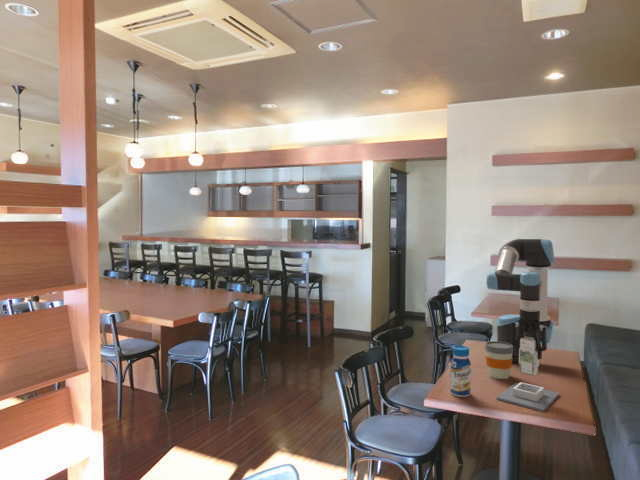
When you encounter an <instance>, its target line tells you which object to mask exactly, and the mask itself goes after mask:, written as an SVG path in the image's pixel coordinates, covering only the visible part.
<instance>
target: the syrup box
mask: <svg viewBox="0 0 640 480" xmlns="http://www.w3.org/2000/svg"><path fill="white" fill-rule="evenodd" d="M535 351H537V348H536V341H535V340H534V338H530V337H523V338H521V339H520V364H519V373H520V374H525V375H529V376H536V375H537V373H539V366H538V367H535Z"/></svg>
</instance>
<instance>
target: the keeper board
mask: <svg viewBox="0 0 640 480" xmlns="http://www.w3.org/2000/svg"><path fill="white" fill-rule="evenodd" d="M559 396H560V392H557V391H552V390H548V389H545V387H544V386H540V385H535V384H529V383H527V382H526V383H525V382H521V381H520V382H519V383H518V382H514V383H513V384H512V385H510V386H508V388H506V389H505V390H504V391H503V392H501V393H500V394H499V395H497V396H496V400H497V401H500V402H504V403H508V404H513V405H515V406H520V407H523V408H527V409H531V410H535V411H538V412H543V413H544V412H545V411H546V410H547V409H548V408H549V407H550V406H551V405H552V403H554V402H555V400H557V398H558V397H559Z"/></svg>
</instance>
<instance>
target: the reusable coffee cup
mask: <svg viewBox="0 0 640 480" xmlns="http://www.w3.org/2000/svg"><path fill="white" fill-rule="evenodd" d="M484 347H485V348H484V350H485V362H486V363H485V364H486V365H487V371H488V376H489V377H490V378H493V379H498V380H506V379H509V378H510V373H511V369H512V365H513V363H512V359H513V357H512V353H513V345H511V344H509V343H506V342H499V341H497V340H496V341H495V340H493V341H492V340H491V341H486V342H485V346H484Z"/></svg>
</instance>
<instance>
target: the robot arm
mask: <svg viewBox="0 0 640 480" xmlns="http://www.w3.org/2000/svg"><path fill="white" fill-rule="evenodd" d="M553 246H554V245H553V242H552V241H551V240H550V239H543V238H515V239H512V240H510V241H507V242H506V243H505V244H503V246H502V247H501V248H500V249H499V252H498V261H497V264H496V267H495V270H494V271H493V272H487V273H488V274H487V275H486V287H487V289H488V290H493V291H505V292H507V291H509V292H519V294H520V298H519V314H514V313H513V314H504V315H500V316H499V317H498V318H497V323H496V329H497V330H496V332H497V333H496V341H499V342H506V343H509V344H511V345H513V353H512V357H513V359H512V364H514V363H518V364H519V365H520V339H521V338H523V337H530V338H534V340H535V341H536V348H537V351H535V367H538V368H539V366H540V360H541V359H542V357H543V355H542V353H543V352H545V351H547V350H548V345H547V344H549V343H550V342H551V339H552V334H553V329H554V321H552V320H551V317H550V316H549V315H548V278H549V277H548V274H549V273H548V271H549V269H550V268H551V267H552V264H554V263H555V251H554V247H553ZM518 262H522V263H523V262H524V263H525V266H526V267H527V268H528V271H527V272H526V271H524V272H521V273H520V274H519V273H518V274H515V273H513V272H514V269H515V265H516V263H518Z"/></svg>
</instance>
